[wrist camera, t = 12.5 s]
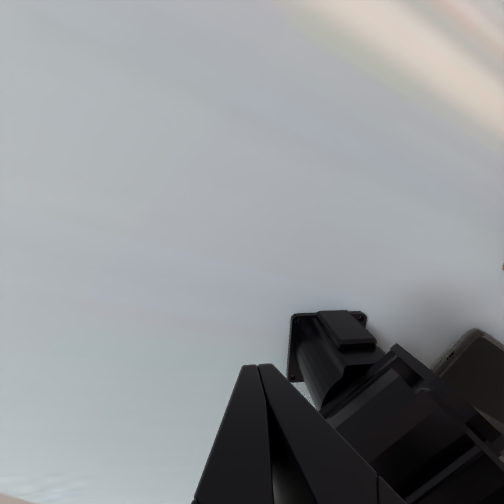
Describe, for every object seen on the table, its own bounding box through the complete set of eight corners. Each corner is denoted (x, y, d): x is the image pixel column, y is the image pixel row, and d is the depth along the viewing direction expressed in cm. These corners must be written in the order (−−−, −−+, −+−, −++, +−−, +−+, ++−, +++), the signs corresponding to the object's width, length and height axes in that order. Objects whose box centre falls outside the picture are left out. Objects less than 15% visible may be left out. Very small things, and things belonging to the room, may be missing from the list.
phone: (512, 442, 27) (425, 391, 23) (501, 432, 28) (416, 382, 24) (565, 390, 26) (483, 328, 22) (551, 382, 27) (470, 321, 23)
